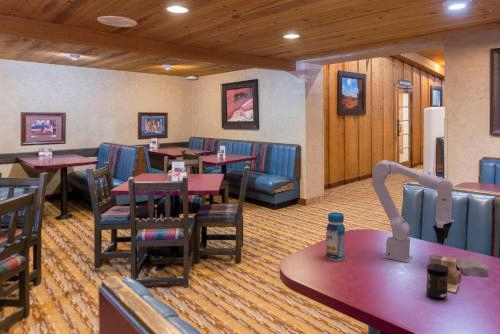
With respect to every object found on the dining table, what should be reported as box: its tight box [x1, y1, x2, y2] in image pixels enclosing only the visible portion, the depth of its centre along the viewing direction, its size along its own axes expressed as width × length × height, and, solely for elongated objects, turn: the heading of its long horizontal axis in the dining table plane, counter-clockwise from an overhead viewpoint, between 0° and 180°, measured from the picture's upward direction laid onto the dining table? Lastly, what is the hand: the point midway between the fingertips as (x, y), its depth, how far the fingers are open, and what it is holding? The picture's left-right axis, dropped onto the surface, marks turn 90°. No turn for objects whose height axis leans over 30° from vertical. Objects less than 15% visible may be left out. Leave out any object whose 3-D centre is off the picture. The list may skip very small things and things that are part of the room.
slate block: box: [428, 254, 443, 265], centre depth 156 cm, size 4×4×5 cm
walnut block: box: [448, 269, 462, 285], centre depth 146 cm, size 7×7×4 cm
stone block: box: [456, 257, 489, 277], centre depth 154 cm, size 12×5×10 cm
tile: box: [447, 284, 460, 295], centre depth 139 cm, size 7×7×1 cm
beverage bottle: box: [325, 212, 346, 262], centre depth 170 cm, size 8×8×20 cm
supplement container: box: [425, 264, 449, 301], centre depth 132 cm, size 7×7×10 cm
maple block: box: [441, 255, 457, 275], centre depth 145 cm, size 4×4×5 cm
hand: (442, 240), depth 160 cm, fingers open, 7 cm apart
